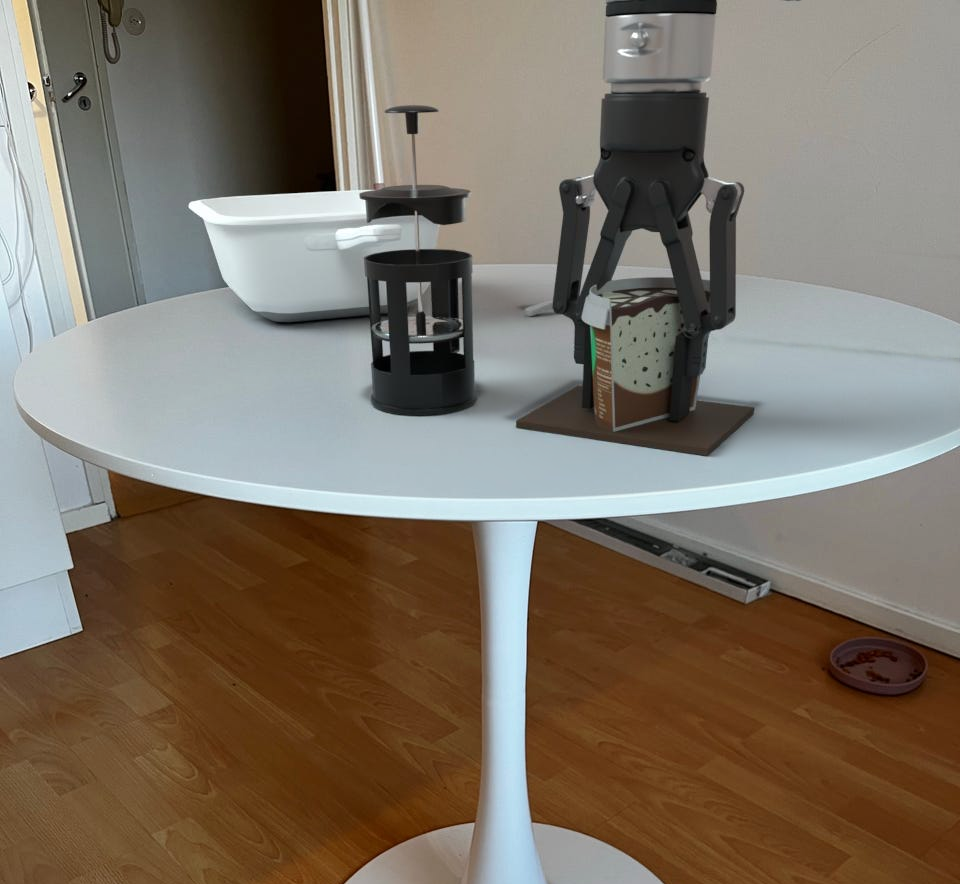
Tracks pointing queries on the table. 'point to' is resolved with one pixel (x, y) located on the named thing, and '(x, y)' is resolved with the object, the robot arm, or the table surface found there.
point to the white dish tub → (306, 251)
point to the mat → (642, 425)
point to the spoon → (538, 308)
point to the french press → (420, 301)
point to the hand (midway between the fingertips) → (635, 409)
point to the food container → (634, 349)
